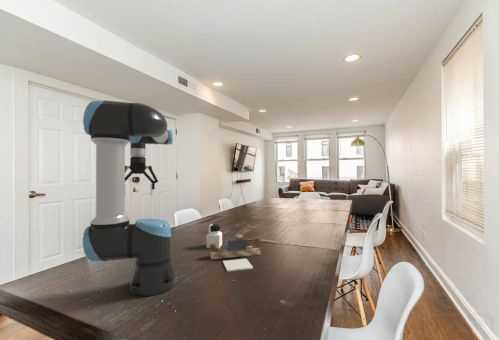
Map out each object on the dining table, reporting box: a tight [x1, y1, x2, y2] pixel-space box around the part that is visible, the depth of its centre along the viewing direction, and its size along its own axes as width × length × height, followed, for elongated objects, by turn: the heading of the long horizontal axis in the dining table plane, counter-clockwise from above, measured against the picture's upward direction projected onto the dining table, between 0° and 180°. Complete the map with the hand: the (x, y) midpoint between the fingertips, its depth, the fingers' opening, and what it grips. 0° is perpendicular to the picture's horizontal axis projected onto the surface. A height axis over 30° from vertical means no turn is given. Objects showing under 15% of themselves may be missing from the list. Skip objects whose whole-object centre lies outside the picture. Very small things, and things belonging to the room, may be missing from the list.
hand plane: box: [209, 237, 261, 260], centre depth 118 cm, size 24×5×8 cm, turn 106°
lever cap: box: [224, 233, 248, 252], centre depth 118 cm, size 9×8×6 cm
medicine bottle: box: [206, 223, 223, 249], centre depth 132 cm, size 7×7×12 cm
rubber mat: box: [222, 258, 254, 273], centre depth 105 cm, size 11×11×1 cm
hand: (137, 196), depth 130 cm, fingers open, 13 cm apart
